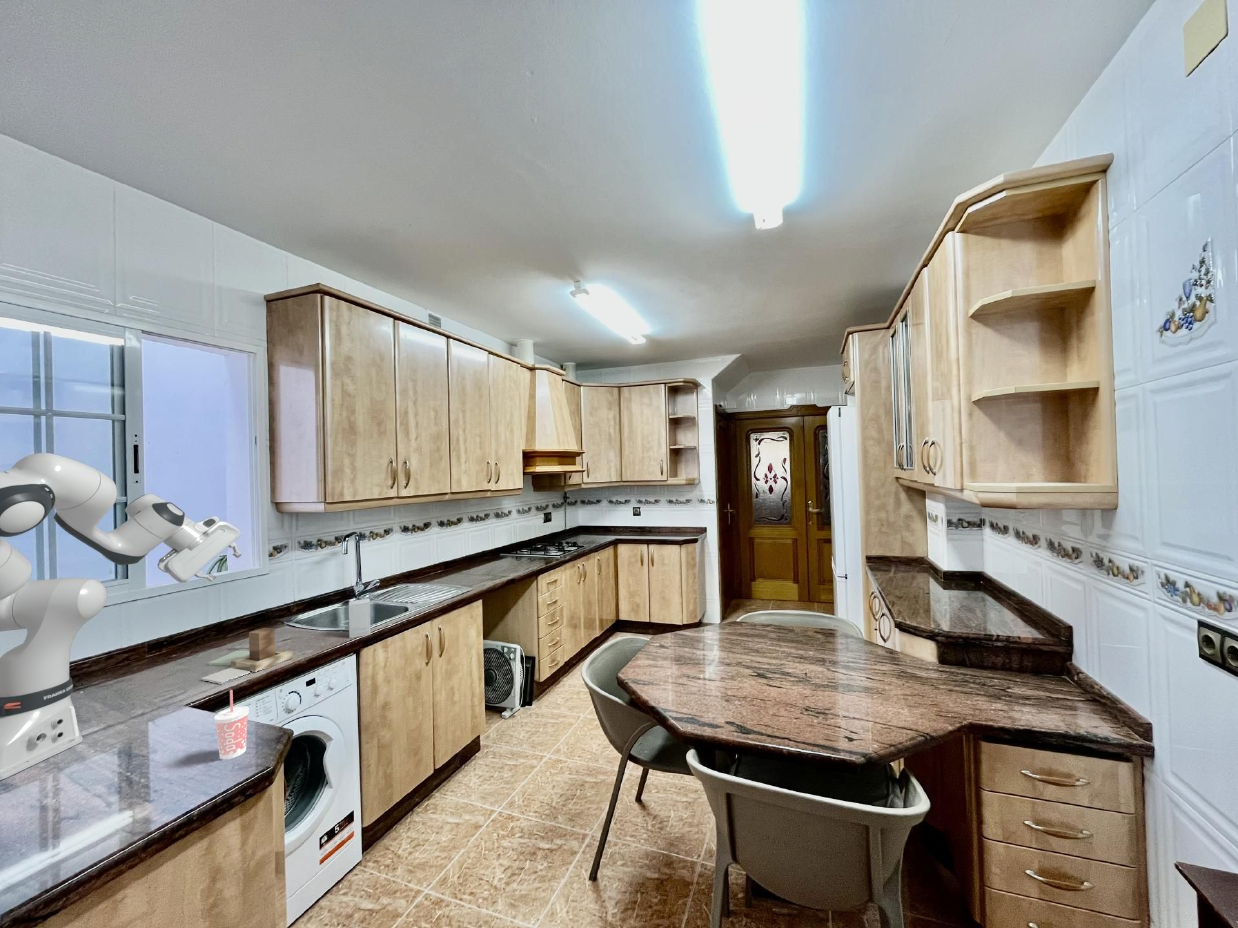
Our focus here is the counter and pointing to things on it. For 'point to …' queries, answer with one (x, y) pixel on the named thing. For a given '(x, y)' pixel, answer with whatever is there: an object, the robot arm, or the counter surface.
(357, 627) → the supplement box
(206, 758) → the counter surface
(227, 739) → the beverage cup
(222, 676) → the puzzle board
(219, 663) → the coaster
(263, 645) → the walnut block
